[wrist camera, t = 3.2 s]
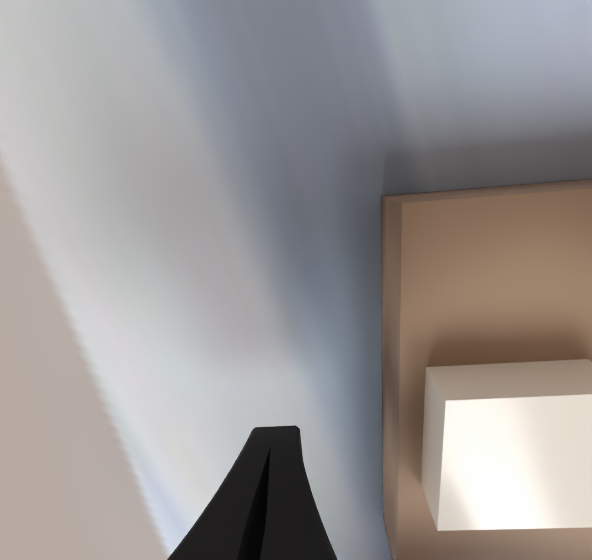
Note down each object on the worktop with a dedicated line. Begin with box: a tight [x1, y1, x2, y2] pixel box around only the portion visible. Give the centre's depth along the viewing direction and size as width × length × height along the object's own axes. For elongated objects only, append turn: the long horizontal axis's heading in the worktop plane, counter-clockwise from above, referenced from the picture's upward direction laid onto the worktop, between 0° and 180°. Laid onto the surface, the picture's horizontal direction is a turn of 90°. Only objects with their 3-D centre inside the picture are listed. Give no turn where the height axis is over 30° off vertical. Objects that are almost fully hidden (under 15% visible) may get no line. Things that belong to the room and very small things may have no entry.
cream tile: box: [421, 359, 592, 531], centre depth 10 cm, size 4×4×2 cm
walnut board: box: [381, 179, 592, 560], centre depth 11 cm, size 14×11×2 cm
